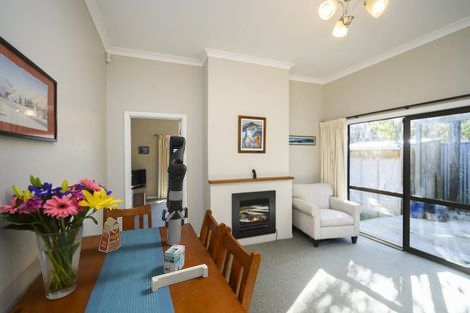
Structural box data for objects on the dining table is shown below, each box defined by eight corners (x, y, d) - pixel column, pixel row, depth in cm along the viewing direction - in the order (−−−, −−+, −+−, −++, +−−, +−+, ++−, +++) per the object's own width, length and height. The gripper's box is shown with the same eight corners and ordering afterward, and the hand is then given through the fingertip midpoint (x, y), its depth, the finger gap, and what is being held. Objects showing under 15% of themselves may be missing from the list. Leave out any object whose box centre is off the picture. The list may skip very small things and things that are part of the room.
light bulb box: (175, 275, 100) (175, 253, 100) (163, 273, 102) (164, 252, 102) (184, 264, 111) (185, 245, 111) (173, 263, 112) (174, 243, 112)
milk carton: (98, 250, 124) (100, 218, 124) (112, 244, 132) (113, 214, 133) (108, 253, 121) (109, 220, 121) (121, 247, 129) (123, 216, 130)
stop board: (151, 287, 90) (152, 277, 90) (204, 272, 103) (204, 263, 104) (152, 292, 87) (153, 282, 87) (207, 276, 100) (208, 267, 100)
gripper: (185, 196, 120) (184, 223, 120) (161, 198, 112) (160, 226, 112) (190, 198, 114) (188, 226, 113) (164, 200, 106) (163, 230, 106)
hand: (174, 226), depth 113 cm, fingers open, 8 cm apart
